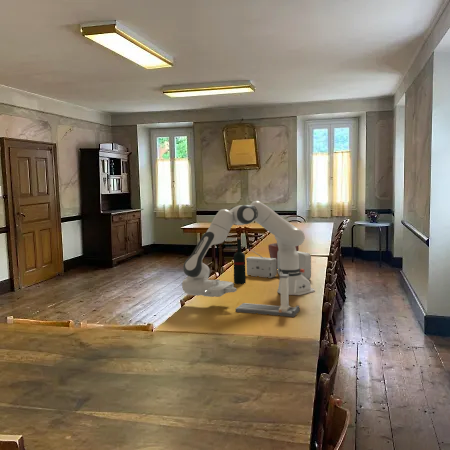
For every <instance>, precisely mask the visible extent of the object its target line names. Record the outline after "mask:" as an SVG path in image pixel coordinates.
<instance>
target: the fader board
mask: <svg viewBox="0 0 450 450" xmlns="http://www.w3.org/2000/svg"><path fill="white" fill-rule="evenodd" d="M280 307H281V305H272V304H260V303H245V302H243V303H241V304H240V305H239V306H237V307H236V308H235V312H237V313H247V314H256V313H258V314H260V315H267V314H269V315H270V316H278V315H280V317H291V318H295V316H297V314H298V313H299V312H300V311H301V308H300V305H296V306H290V309H289V310H288V311H282V310H280V309H279V308H280ZM258 314H257V315H258ZM269 315H268V316H269Z"/></svg>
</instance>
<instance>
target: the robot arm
mask: <svg viewBox="0 0 450 450" xmlns="http://www.w3.org/2000/svg"><path fill="white" fill-rule="evenodd" d="M253 221H255V222H256V223H257V224H258V225H259V226H261V227H262V228H264V229H265V230H266V231H267V232H268V233H270V234H272V235H273V236H274V238H275V240H276V243H277V245H278V249H279V255H280V268H279V274H278V276H279V278H280V275H281V274H289V277H288V281H289V295H290V296H291V295H292V296H302V295H306V294H310V293H313V292H315V291H316V290H315V289H314V288H313V287H312V286H311V285H312V284H311V282H310V281H311V280H310V279H306V278H305V277H304V276H303V275H301V272H303V273H304V272H305V271H304V269H299V255H298V253H297V251H296V247H295V246H299V247H300V246H301V245H303V243H304V242H305V234H304V232H303V231H302V230H301V229H299V228H298V227H297V226H295V225H294V224H293V223H290V221H288V220H286V219H285V218H283V217H282V216H281V215H279V214H278V213H277V212H275V210H273V209H272V208H271V207H269V206H268V205H266V204H265V203H263V202H261V201H259V200H254V201H252V202H251V203H250V204H241V205H240V204H239V205H236V206H232V207H231V208H230V209H226V208H223V209H222V208H221V209H219V210H218V212H217V213H216V214H215V216H214V217H213V219H212V220H211V223H210V225H209V227H208V229H207V230H206V232H205V233H204V234H203V235H202V237H201V238H200V240H199V241H198V243H197V245H196V246H195V248H194V249H193V251H192V253H191V255H189V257H188V258H186V260H185V261H184V262H183V264H182V265H183V266H182V270H183V273H184V274H185V275H186V278H184V279H183V280H182V283H181V287H182V290H183V292H184V293H185V294H187V295H189V296H197V297H198V296H203V297H207V298H208V297H209V298H214V297H215V298H217V297H218V298H220V297H222V296H223V295H226V294H227V293H235V292H237V291H238V289H237V288H236V287H234V286H235V285H234V282H232V281H226V280H220V279H209V278H210V275H211V269H210V267H209V266H208V264H205V263H204V262H203V259H204V257H205V256H206V255H207V252H208V251H209V249H210V247H212V246H213V245H219V244H222V243H224V242H225V240H226V239H227V237H228V235H229V233H230V231H231V229H232V227H233V226H234V225H235V226H244V225H248V224H251V223H253ZM277 293H278V294H280V295H281V281H280V279H279V281H278V288H277Z"/></svg>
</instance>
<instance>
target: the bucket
mask: <svg viewBox="0 0 450 450" xmlns="http://www.w3.org/2000/svg"><path fill="white" fill-rule="evenodd" d="M267 246H268V248H267V249H268V253H269V258H276V260H277V253H278V250H279V249H278V245H277V242H275V243H274V242H273V243H270V244H268V245H267ZM295 247H296V251H299V249H300V248H299V247H300V245H299V246H295ZM277 269H278V267H277Z"/></svg>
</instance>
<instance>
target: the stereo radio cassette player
mask: <svg viewBox="0 0 450 450" xmlns="http://www.w3.org/2000/svg"><path fill="white" fill-rule="evenodd" d="M247 249H248V250H250V251H251V252H253V253H254V254H256V255H257V256H248V257H245V261H246V275H247V276H248V275H251V276H250V277H257V276H259V278H267V277H268V278H269V279H272V278H275V277H276V276H277V274H278V270H277V260H276V258H270V257H263V256H262V255H260V254H258V253H257V252H256V251H254V250H251V249H250V248H249V247H248V248H247Z"/></svg>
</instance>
